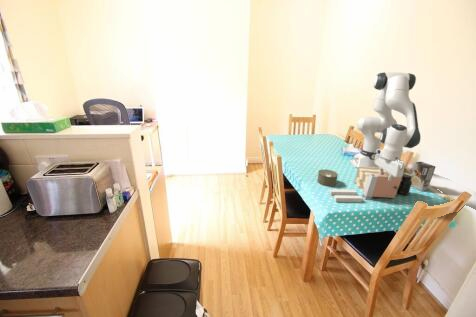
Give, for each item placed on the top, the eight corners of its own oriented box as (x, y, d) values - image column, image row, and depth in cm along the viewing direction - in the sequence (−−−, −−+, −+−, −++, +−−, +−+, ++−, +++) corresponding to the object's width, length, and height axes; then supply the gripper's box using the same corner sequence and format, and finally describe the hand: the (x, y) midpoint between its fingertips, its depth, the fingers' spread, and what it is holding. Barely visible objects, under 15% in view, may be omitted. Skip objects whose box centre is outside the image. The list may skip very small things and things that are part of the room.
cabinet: (349, 183, 150) (353, 166, 146) (375, 183, 150) (379, 167, 146) (365, 199, 132) (369, 180, 127) (395, 199, 132) (400, 181, 128)
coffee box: (428, 189, 144) (436, 166, 138) (421, 191, 142) (429, 167, 136) (413, 183, 152) (420, 161, 146) (406, 184, 150) (414, 162, 144)
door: (363, 193, 134) (369, 173, 130) (391, 195, 135) (398, 175, 130) (366, 197, 130) (373, 177, 126) (396, 199, 131) (403, 178, 126)
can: (335, 179, 155) (336, 170, 153) (337, 187, 144) (339, 178, 142) (316, 177, 158) (318, 168, 156) (317, 185, 147) (318, 175, 145)
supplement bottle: (395, 189, 144) (400, 172, 140) (408, 192, 140) (414, 175, 136) (394, 193, 139) (399, 175, 135) (407, 197, 135) (413, 179, 131)
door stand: (328, 193, 138) (329, 189, 137) (353, 193, 138) (354, 189, 137) (335, 201, 129) (336, 198, 128) (361, 202, 129) (362, 198, 128)
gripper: (410, 162, 114) (402, 186, 119) (385, 149, 133) (380, 170, 138) (398, 161, 114) (391, 186, 119) (375, 148, 133) (369, 170, 138)
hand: (384, 177), depth 129 cm, fingers open, 5 cm apart
